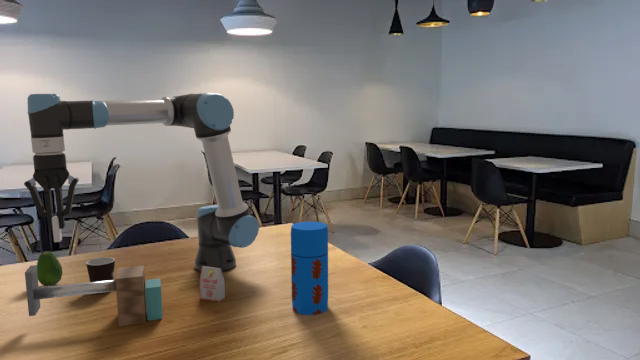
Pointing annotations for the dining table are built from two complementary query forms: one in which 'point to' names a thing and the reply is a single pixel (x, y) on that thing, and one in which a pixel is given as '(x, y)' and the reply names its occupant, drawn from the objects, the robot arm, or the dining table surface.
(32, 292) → the shaft
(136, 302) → the bearing block
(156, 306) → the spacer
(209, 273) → the white paper food packet
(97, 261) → the coffee mug
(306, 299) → the thermos
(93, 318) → the dining table surface
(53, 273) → the avocado
